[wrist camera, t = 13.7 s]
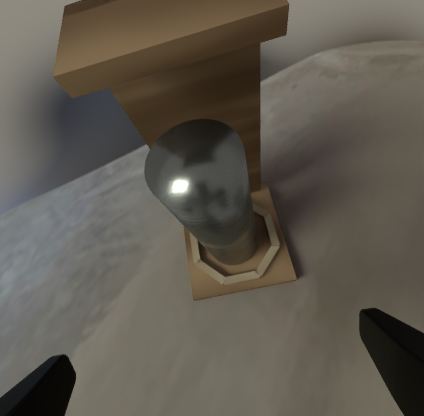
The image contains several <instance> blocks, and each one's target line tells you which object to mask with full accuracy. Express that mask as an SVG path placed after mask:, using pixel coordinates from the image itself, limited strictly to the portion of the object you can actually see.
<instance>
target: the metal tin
mask: <svg viewBox="0 0 424 416" xmlns="http://www.w3.org/2000/svg"><path fill="white" fill-rule="evenodd" d="M145 179H146V182H147V185H148V187H149V189H150V190H151V191H152V193H153V194H154V195H155V196H156V197H157V198H158V199H159V200H160V201H161V202H162V203H163V204H164V205H165V206H166V207H167V209H168V210H169V211H170V212H171V213H172V214H173V215H174V216H175V217H176V218H177V219H178V220H179V221H180V222H181V223H182V224H183V225H184V226H185V227H186V228H187V229H188V231H189V232H190V233H191V234H192V235H193V236H194V237H195V238H196V239H197V240H198V241H199V242H200V243H201V244H202V245H203V246H204V247H205V248H206V249H207V250H208V251H209V252H210V254H211V255H212V256H213V257H214V258H215V259H216V260H218V261H219V262H221V263H223V264H226V265H239V264H242V263H244V262H246V261H248V260H249V259H250V258H251V257H252V256H253V254H254V253H255V251H256V248H257V244H258V237H257V230H256V224H255V217H254V211H253V204H252V198H251V191H250V184H249V178H248V171H247V165H246V158H245V152H244V147H243V143H242V141H241V139H240V137H239V135H238V134H237V133H236V132H235V131H234V130H233V129H232V128H231V127H230V126H228V125H226V124H225V123H222V122H220V121H216V120H211V119H195V120H190V121H186V122H183V123H180V124H178V125H176V126H174V127H172V128H171V129H169V130H168V131H166V132H165V133H164V134H163V135H161V136H160V137H159V138H158V140H157V141H156V142H155V143H154V144H153V146H152V147H151V149H150V151H149V153H148V155H147V158H146V162H145Z"/></svg>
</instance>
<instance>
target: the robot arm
mask: <svg viewBox="0 0 424 416" xmlns="http://www.w3.org/2000/svg"><path fill="white" fill-rule="evenodd" d="M359 332H360V336H361V339H362V341H363V343H364V345H365V347H366V349H367V350H368V352H369V354H370V356H371V358H372V360H373V362H374V363H375V365H376V367H377V369H378V371H379V373H380V375H381V377H382V378H383V380H384V382H385V384H386V386H387V388H388V390H389V391H390V393H391V395H392V397H393V398H394V400H395V402H396V403H397V405H398V406H399V408H400V410H401V411H402V413H403V414H404V416H424V333H423V332H421V331H419V330H417V329H415V328H413V327H411V326H409V325H407V324H405V323H404V322H402V321H400V320H398V319H396V318H394V317H392V316H390V315H388V314H387V313H385V312H383V311H381V310H379V309H377V308H368V309H362V310H361V311H360V314H359ZM75 381H76V372H75V370H74V368H73V366H72V364H71V362H70V360H69V358H68V356H67V355H64V354H63V355H56V356H52V357H50V358H49V359H48V360H46V361H45V362H44V363H43V364H41V365H40V366H39V367H38V368H36V369H35V370H34V371H33V372H32V373H30V374H29V375H28V376H27V377H25V378H24V379H23V380H22V381H20V382H19V383H18V384H17V385H15V386H14V387H13V388H12V389H11V390H9V391H8V392H7V393H6V394H4V395H3V396H2V397H1V398H0V416H65V413H66V410H67V406H68V403H69V400H70V397H71V394H72V391H73V388H74V385H75Z"/></svg>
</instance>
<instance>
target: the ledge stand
mask: <svg viewBox="0 0 424 416" xmlns="http://www.w3.org/2000/svg"><path fill="white" fill-rule="evenodd" d="M288 10H289V3H288V1H287V0H81V1H78V2H75V3H72V4H69V5H66V6H65V8H64V14H63V20H62V26H61V32H60V38H59V44H58V50H57V56H56V62H55V68H54V74H53V77H54V78H55V79H56V81H57V82H58V83H59V84H60V85H61V86H62V88H63V89H64V90H65V91H66V92H67V93H68V94H69V96H70V97H71V98H75V97H78V96H82V95H85V94H88V93H92V92H95V91H99V90H102V89H105V88H110V90H111V91H112V93H113V94H114V96H115V97H116V99H117V100H118V102H119V103H120V105H121V106H122V108H123V109H124V111H125V112H126V114H127V115H128V117H129V118H130V120H131V121H132V123H133V124H134V126H135V127H136V128H137V130H138V132H139V133H140V135H141V136H142V138H143V139H144V141H145V142H146V144H147V145H148V147H149V148H150V149H151V147H152V146H153V144H154V143H155V142H156V141H157V140H158V138H159V137H160V136H161V135H163V134H164V133H165V132H166V131H168V130H169V129H171V128H172V127H174V126H176V125H178V124H180V123H183V122H186V121H190V120H195V119H211V120H216V121H220V122H222V123H225V124H226V125H228V126H230V127H231V128H232V129H233V130H234V131H235V132H236V133H237V134H238V135H239V137H240V139H241V141H242V143H243V147H244V152H245V158H246V165H247V171H248V178H249V184H250V191H251V198H252V204H253V211H254V217H255V224H256V230H257V237H258V244H257V248H256V251H255V253H254V254H253V256H252V257H251V258H250V259H249V260H248V261H246V262H244V263H242V264H239V265H226V264H223V263H221V262H219V261H218V260H216V259H215V258H214V257H213V256H212V255H211V254H210V252H209V251H208V250H207V249H206V248H205V247H204V246H203V245H202V244H201V243H200V242H199V241H198V240H197V239H196V238H195V237H194V236H193V235H192V234H191V233H190V232H189V231H188V229H187V228H186V227H185V226H184V232H185V240H186V248H187V256H188V263H189V271H190V279H191V287H192V294H193V300H200V299H206V298H211V297H216V296H221V295H226V294H231V293H236V292H241V291H246V290H251V289H256V288H261V287H266V286H271V285H276V284H281V283H286V282H291V281H296V280H297V278H296V275H295V271H294V268H293V265H292V262H291V259H290V255H289V252H288V249H287V246H286V243H285V239H284V236H283V233H282V230H281V227H280V223H279V220H278V217H277V214H276V211H275V207H274V204H273V201H272V198H271V194H270V191H269V188H268V185H267V182H264V183H260V43H261V42H264V41H268V40H271V39H274V38H278V37H281V36H285V35H286V33H287V22H288V12H289V11H288Z"/></svg>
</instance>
